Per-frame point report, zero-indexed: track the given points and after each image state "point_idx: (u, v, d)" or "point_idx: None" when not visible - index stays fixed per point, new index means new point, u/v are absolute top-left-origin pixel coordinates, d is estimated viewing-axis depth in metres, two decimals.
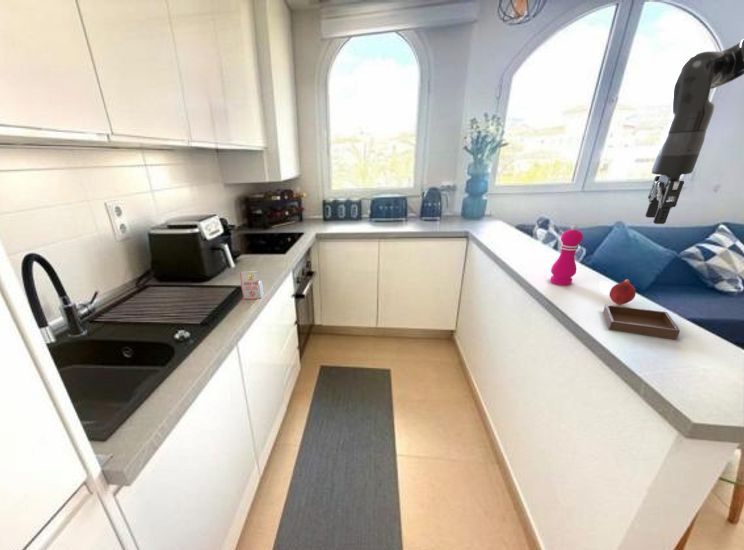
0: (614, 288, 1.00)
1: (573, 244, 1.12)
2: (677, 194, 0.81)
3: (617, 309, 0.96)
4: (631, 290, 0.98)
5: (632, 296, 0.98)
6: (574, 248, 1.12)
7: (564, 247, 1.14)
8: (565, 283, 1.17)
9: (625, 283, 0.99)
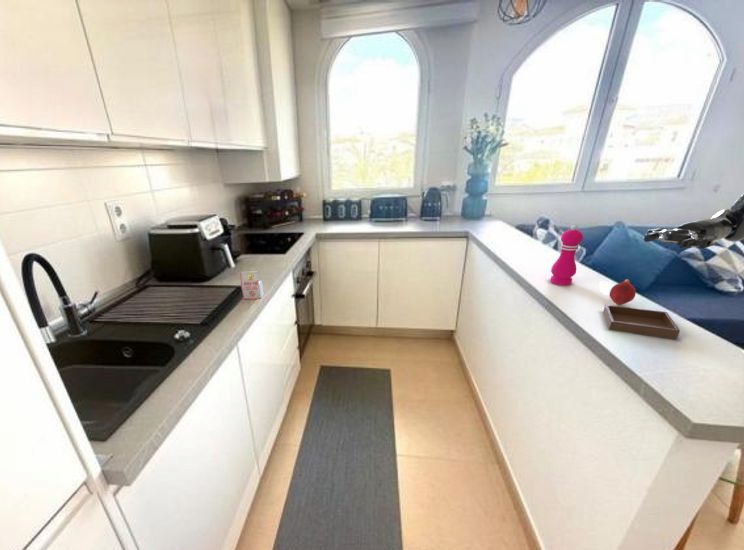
0: (614, 288, 1.00)
1: (573, 244, 1.12)
2: None
3: (617, 309, 0.96)
4: (631, 290, 0.98)
5: (632, 296, 0.98)
6: (574, 248, 1.12)
7: (564, 247, 1.14)
8: (565, 283, 1.17)
9: (625, 283, 0.99)
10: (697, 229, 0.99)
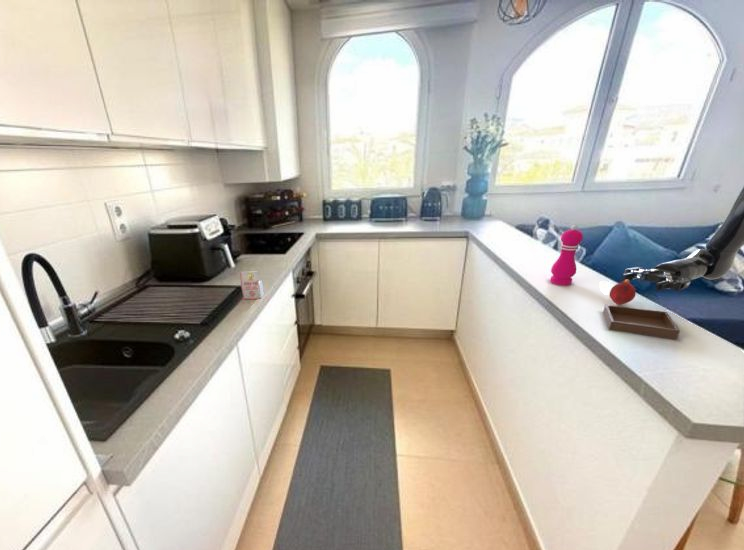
0: (614, 288, 1.00)
1: (573, 244, 1.12)
2: None
3: (617, 309, 0.96)
4: (631, 290, 0.98)
5: (632, 296, 0.98)
6: (574, 248, 1.12)
7: (564, 247, 1.14)
8: (565, 283, 1.17)
9: (625, 283, 0.99)
10: (672, 270, 1.03)
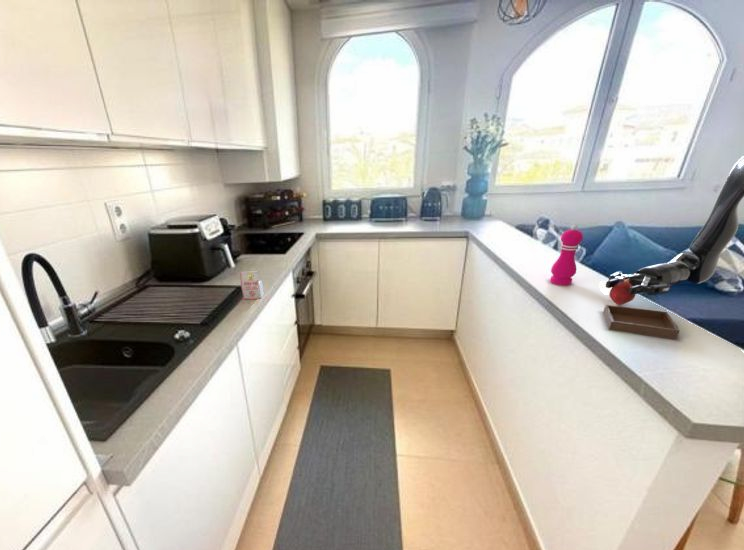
0: (614, 288, 1.00)
1: (573, 244, 1.12)
2: None
3: (617, 309, 0.96)
4: None
5: (632, 296, 0.98)
6: (574, 248, 1.12)
7: (564, 247, 1.14)
8: (565, 283, 1.17)
9: (625, 283, 0.99)
10: (654, 275, 1.00)
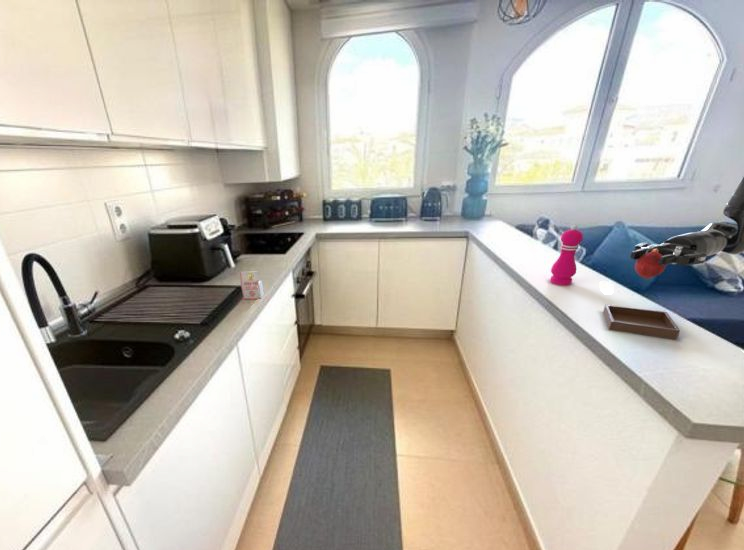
0: (641, 259, 0.88)
1: (573, 244, 1.12)
2: None
3: (617, 309, 0.96)
4: None
5: (662, 267, 0.85)
6: (574, 248, 1.12)
7: (564, 247, 1.14)
8: (565, 283, 1.17)
9: (654, 253, 0.86)
10: (686, 244, 0.88)
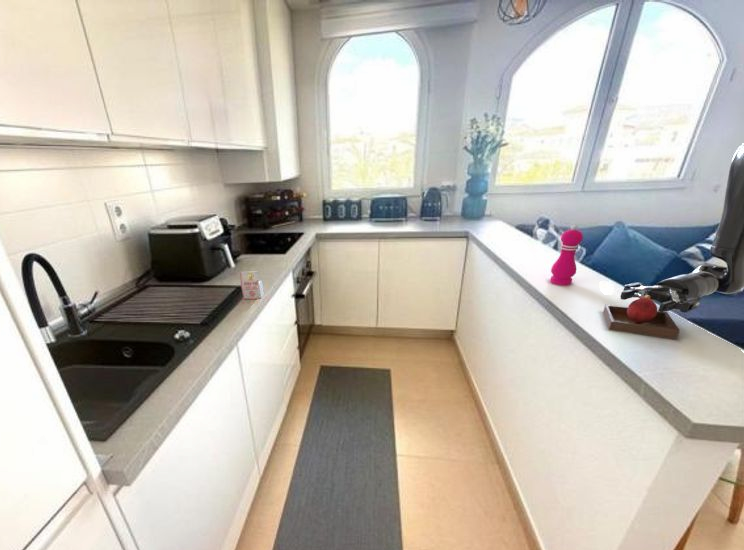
0: (633, 305, 0.89)
1: (573, 244, 1.12)
2: None
3: (617, 309, 0.96)
4: (652, 307, 0.87)
5: (653, 314, 0.87)
6: (574, 248, 1.12)
7: (564, 247, 1.14)
8: (565, 283, 1.17)
9: (645, 299, 0.88)
10: (679, 287, 0.89)
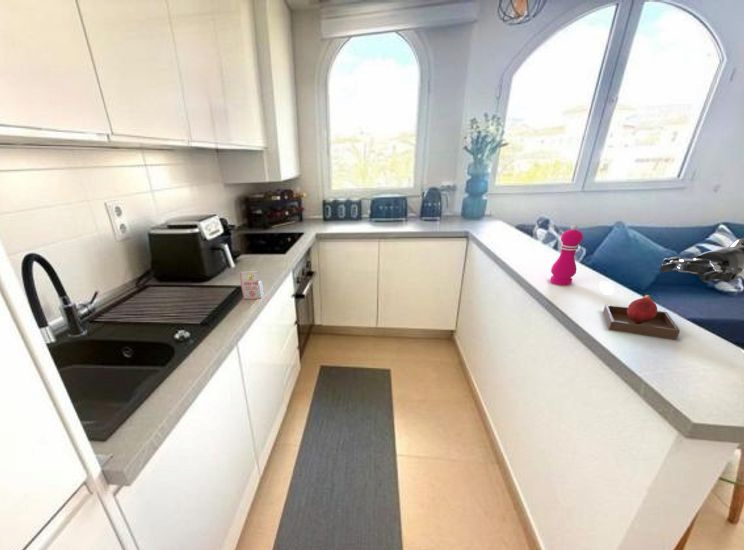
0: (633, 305, 0.89)
1: (573, 244, 1.12)
2: None
3: (617, 309, 0.96)
4: (652, 307, 0.87)
5: (653, 314, 0.87)
6: (574, 248, 1.12)
7: (564, 247, 1.14)
8: (565, 283, 1.17)
9: (645, 299, 0.88)
10: (719, 260, 0.91)
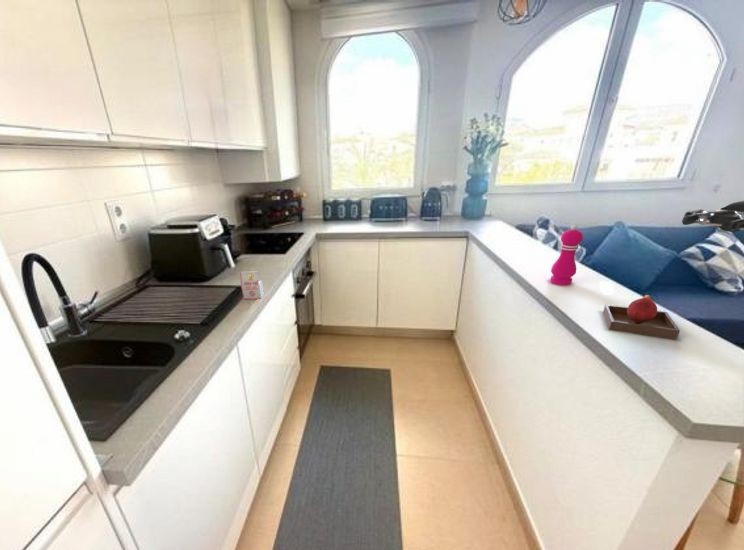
0: (633, 305, 0.89)
1: (573, 244, 1.12)
2: None
3: (617, 309, 0.96)
4: (652, 307, 0.87)
5: (653, 314, 0.87)
6: (574, 248, 1.12)
7: (564, 247, 1.14)
8: (565, 283, 1.17)
9: (645, 299, 0.88)
10: None
